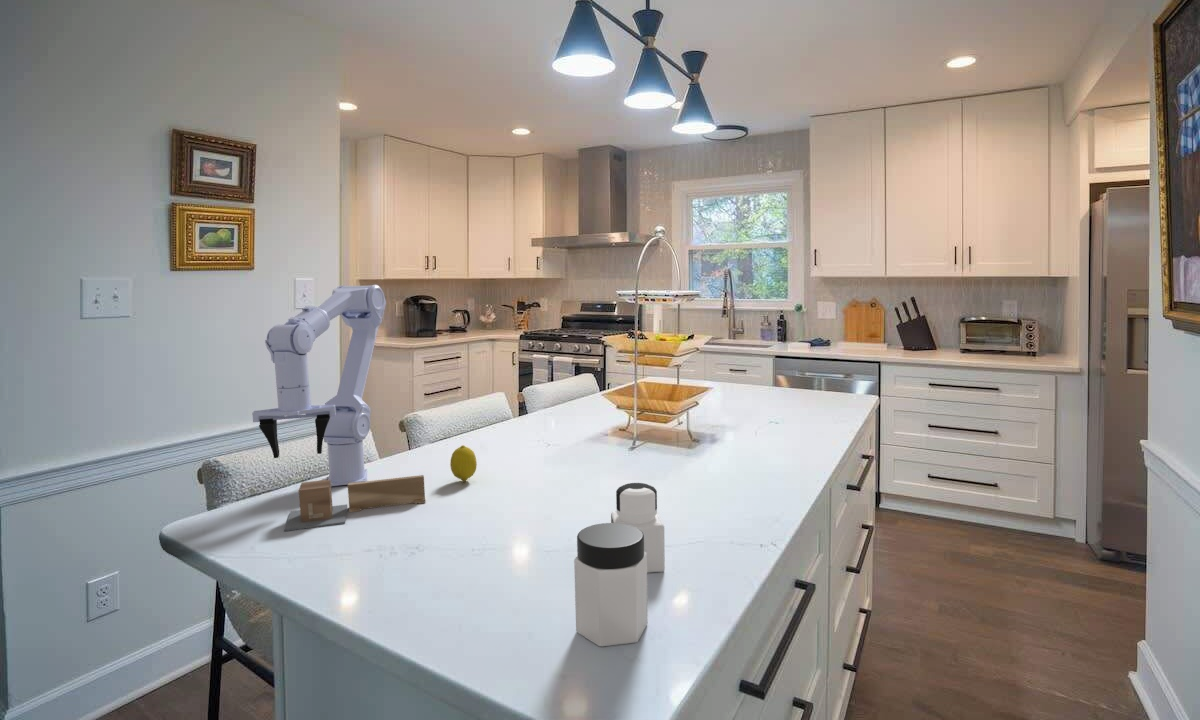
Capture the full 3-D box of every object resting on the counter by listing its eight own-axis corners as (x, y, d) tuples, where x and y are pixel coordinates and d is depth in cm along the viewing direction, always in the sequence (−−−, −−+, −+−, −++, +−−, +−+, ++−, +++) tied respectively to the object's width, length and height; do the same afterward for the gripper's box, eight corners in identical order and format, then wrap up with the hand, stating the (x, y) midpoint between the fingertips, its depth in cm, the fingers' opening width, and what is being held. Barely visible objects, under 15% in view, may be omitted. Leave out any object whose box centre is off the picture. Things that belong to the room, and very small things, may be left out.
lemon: (471, 486, 137) (469, 449, 136) (447, 484, 138) (445, 448, 138) (481, 478, 143) (479, 442, 142) (457, 477, 144) (456, 441, 143)
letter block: (303, 513, 122) (301, 482, 121) (332, 510, 123) (330, 479, 123) (301, 523, 117) (298, 490, 116) (331, 519, 118) (328, 487, 118)
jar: (639, 608, 85) (638, 519, 83) (656, 641, 77) (655, 544, 75) (571, 615, 83) (569, 525, 82) (581, 650, 75) (578, 551, 74)
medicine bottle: (611, 554, 101) (610, 480, 100) (656, 552, 102) (656, 478, 100) (616, 575, 94) (615, 495, 93) (665, 572, 95) (664, 493, 93)
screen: (349, 507, 126) (348, 482, 125) (424, 497, 130) (423, 473, 130) (349, 512, 123) (347, 486, 122) (425, 502, 127) (424, 477, 127)
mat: (290, 512, 123) (290, 511, 123) (347, 505, 126) (347, 504, 126) (284, 531, 114) (283, 529, 114) (345, 523, 117) (345, 521, 117)
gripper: (247, 392, 119) (253, 463, 121) (332, 386, 124) (337, 455, 126) (253, 386, 126) (259, 454, 128) (334, 381, 131) (338, 447, 132)
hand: (298, 454), depth 127 cm, fingers open, 7 cm apart
